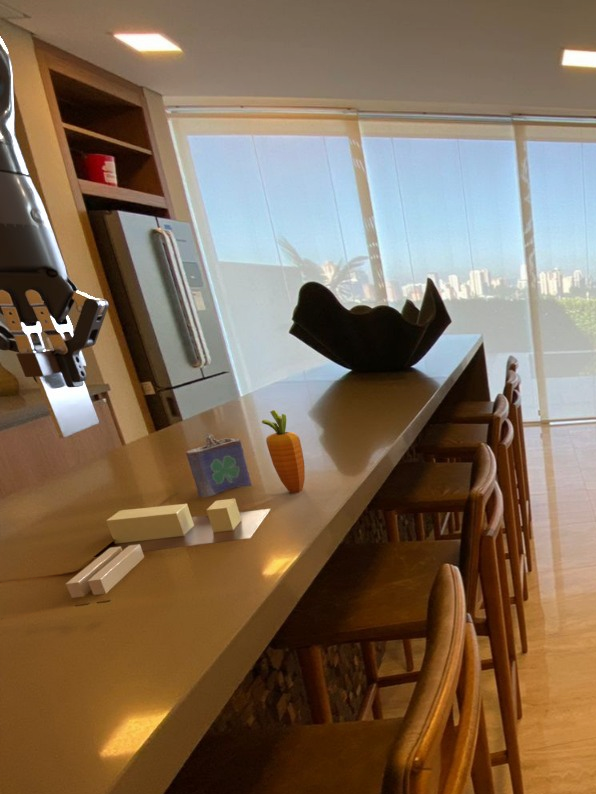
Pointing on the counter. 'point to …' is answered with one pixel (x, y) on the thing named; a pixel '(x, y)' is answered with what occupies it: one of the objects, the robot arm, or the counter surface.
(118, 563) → the rest
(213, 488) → the flask
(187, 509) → the butter
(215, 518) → the butter slice
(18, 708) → the counter surface
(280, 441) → the carrot
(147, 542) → the board
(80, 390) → the dough scraper
